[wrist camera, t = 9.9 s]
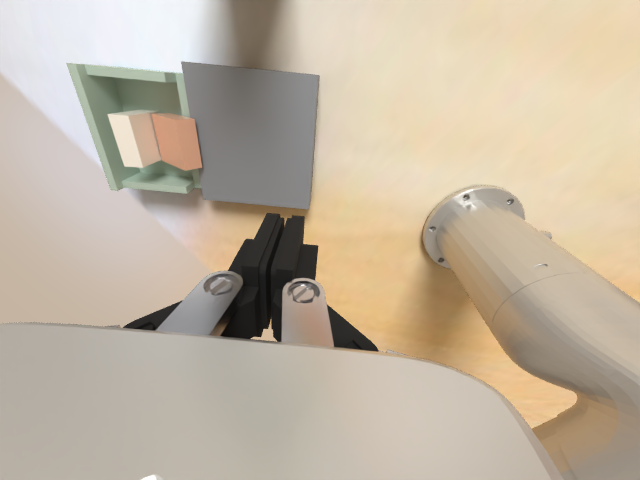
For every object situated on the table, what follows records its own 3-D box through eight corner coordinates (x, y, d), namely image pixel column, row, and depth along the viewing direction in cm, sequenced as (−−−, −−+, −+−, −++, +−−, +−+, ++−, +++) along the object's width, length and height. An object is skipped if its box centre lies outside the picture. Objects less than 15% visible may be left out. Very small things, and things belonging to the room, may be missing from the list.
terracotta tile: (194, 118, 27) (174, 119, 25) (202, 167, 29) (184, 170, 28) (170, 112, 29) (150, 113, 28) (179, 158, 32) (162, 160, 30)
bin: (192, 74, 28) (166, 72, 23) (207, 183, 34) (190, 197, 30) (107, 65, 28) (66, 63, 23) (138, 176, 34) (110, 190, 30)
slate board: (319, 75, 27) (318, 75, 25) (310, 200, 35) (308, 209, 32) (195, 63, 27) (181, 61, 25) (212, 190, 34) (203, 199, 32)
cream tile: (128, 115, 25) (107, 114, 25) (143, 167, 27) (124, 166, 27) (158, 110, 29) (140, 109, 29) (168, 156, 32) (152, 155, 32)
